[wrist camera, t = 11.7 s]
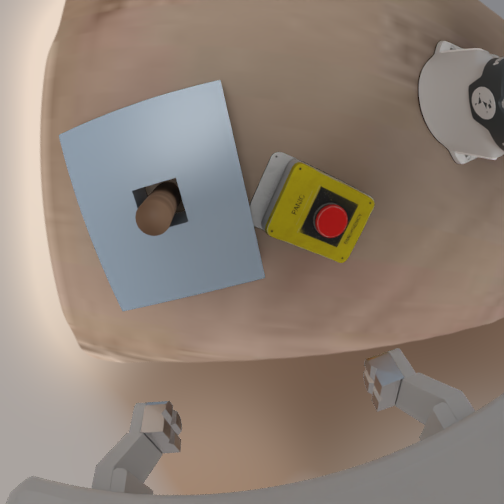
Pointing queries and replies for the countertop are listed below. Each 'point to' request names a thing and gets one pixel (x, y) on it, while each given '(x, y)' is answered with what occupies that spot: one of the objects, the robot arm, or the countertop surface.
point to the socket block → (191, 189)
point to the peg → (158, 209)
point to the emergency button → (309, 208)
